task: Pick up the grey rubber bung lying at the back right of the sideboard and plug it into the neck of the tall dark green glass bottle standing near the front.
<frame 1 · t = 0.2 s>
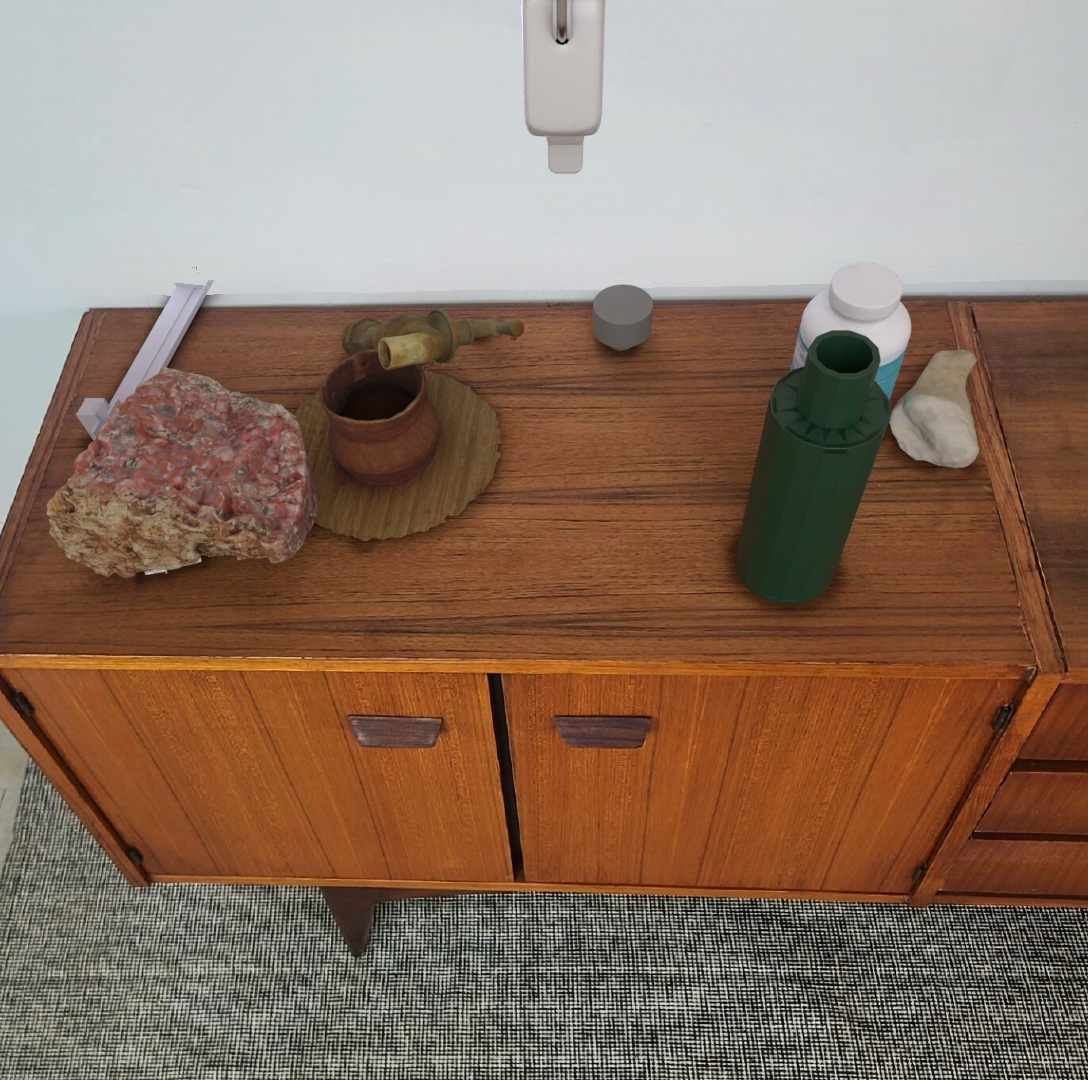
hand: (568, 114, 60), 28 cm above the sideboard, tool pointing down, fingers open, 8 cm apart
bottle: (784, 564, 76), on the sideboard
card: (203, 548, 80), on the sideboard, touching rock
pill bottle: (827, 425, 83), on the sideboard
rock: (241, 407, 81), point 4 cm above the sideboard, touching card, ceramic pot
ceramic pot: (388, 451, 84), on the sideboard, touching faucet, rock
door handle: (130, 345, 90), point 2 cm above the sideboard
faucet: (339, 351, 81), point 7 cm above the sideboard, touching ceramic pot
bung: (621, 341, 89), on the sideboard
beige lumpy piece: (939, 419, 83), on the sideboard
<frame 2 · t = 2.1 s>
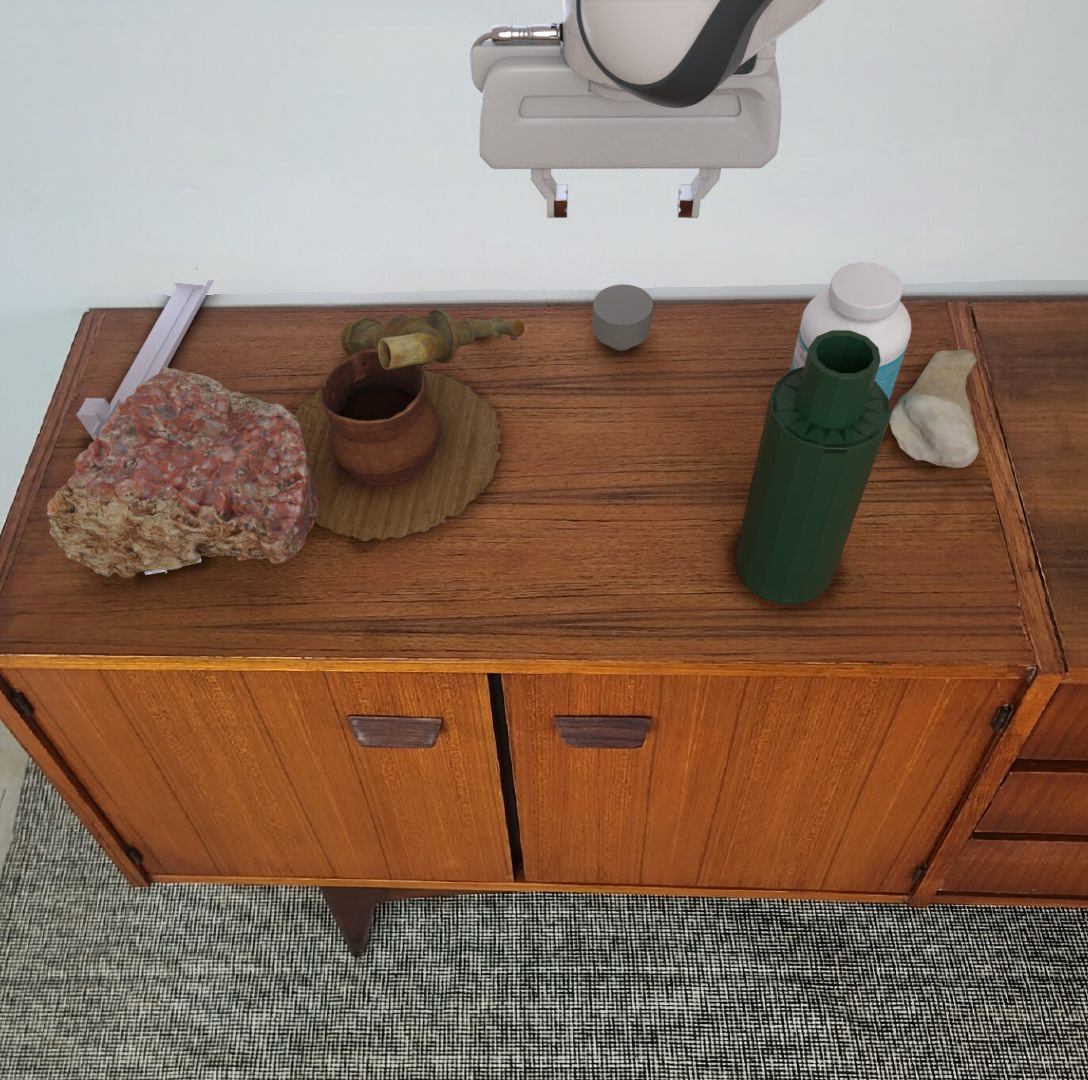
hand: (622, 213, 78), 13 cm above the sideboard, tool pointing down, fingers open, 8 cm apart
nothing on the sideboard moved.
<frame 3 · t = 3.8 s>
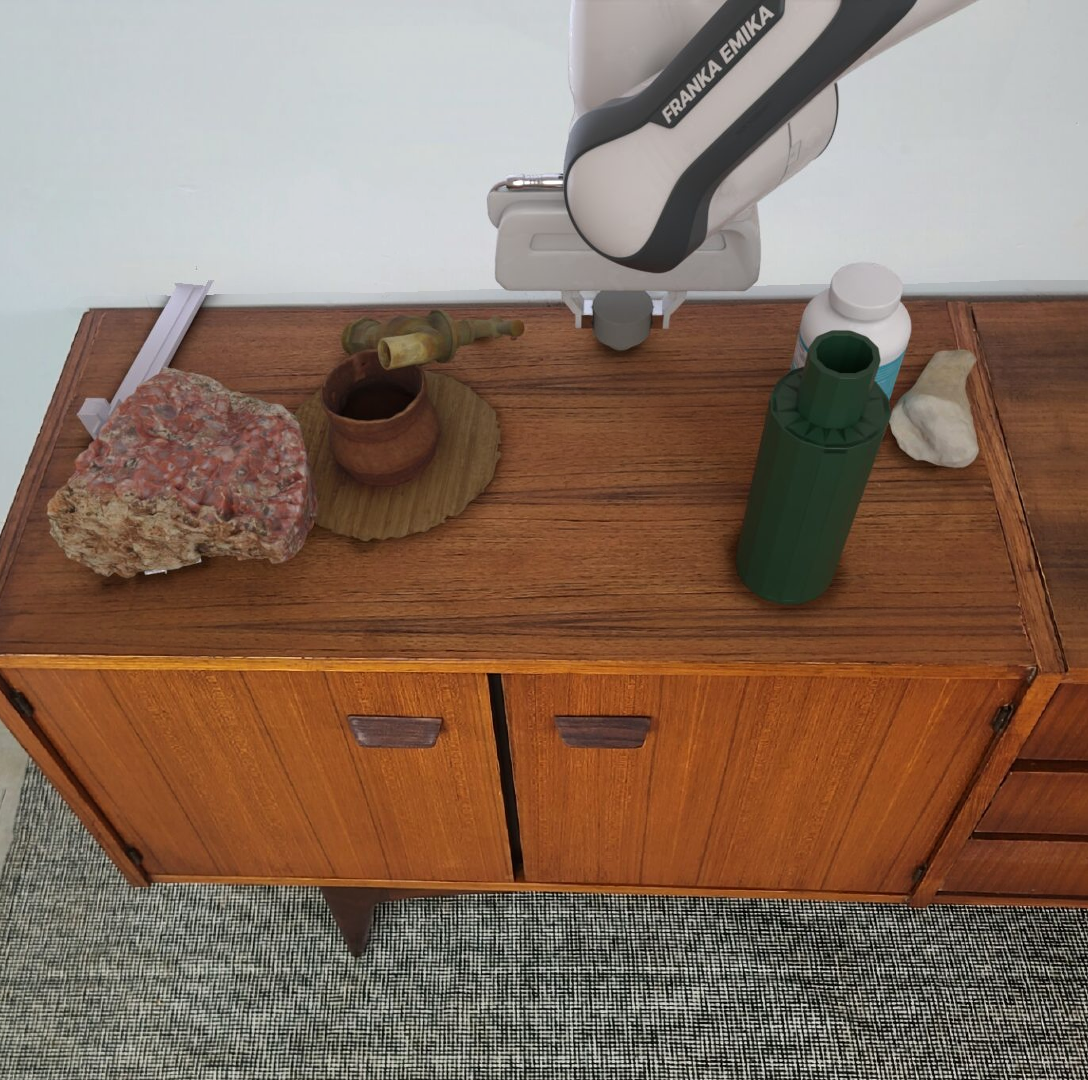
hand: (622, 324, 88), 2 cm above the sideboard, tool pointing down, fingers closed on bung, 5 cm apart
bung: (620, 341, 89), on the sideboard, touching gripper
everything else where it was.
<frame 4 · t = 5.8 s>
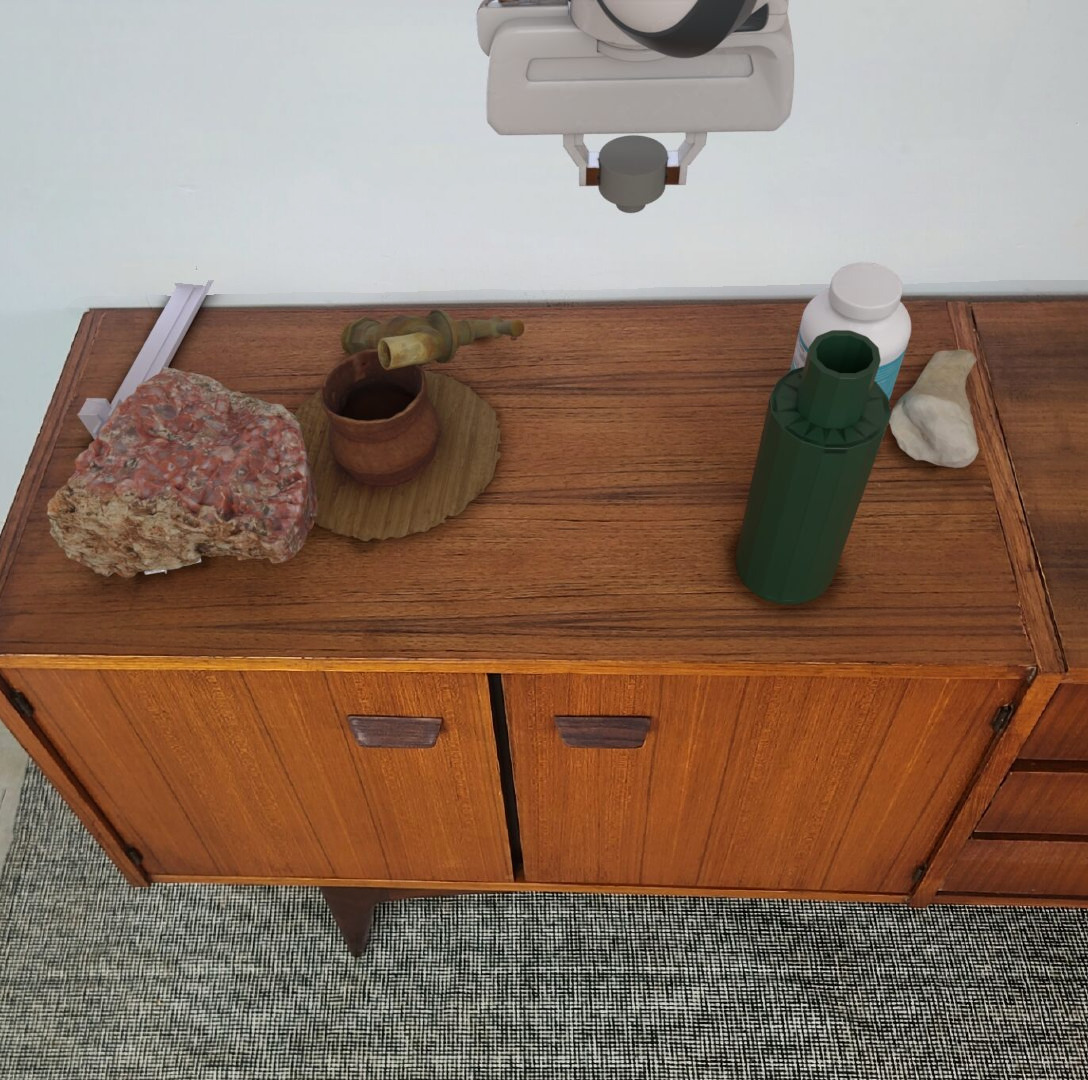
hand: (632, 180, 77), 15 cm above the sideboard, tool pointing down, fingers closed on bung, 5 cm apart
bung: (630, 204, 79), point 13 cm above the sideboard, touching gripper
everything else where it was.
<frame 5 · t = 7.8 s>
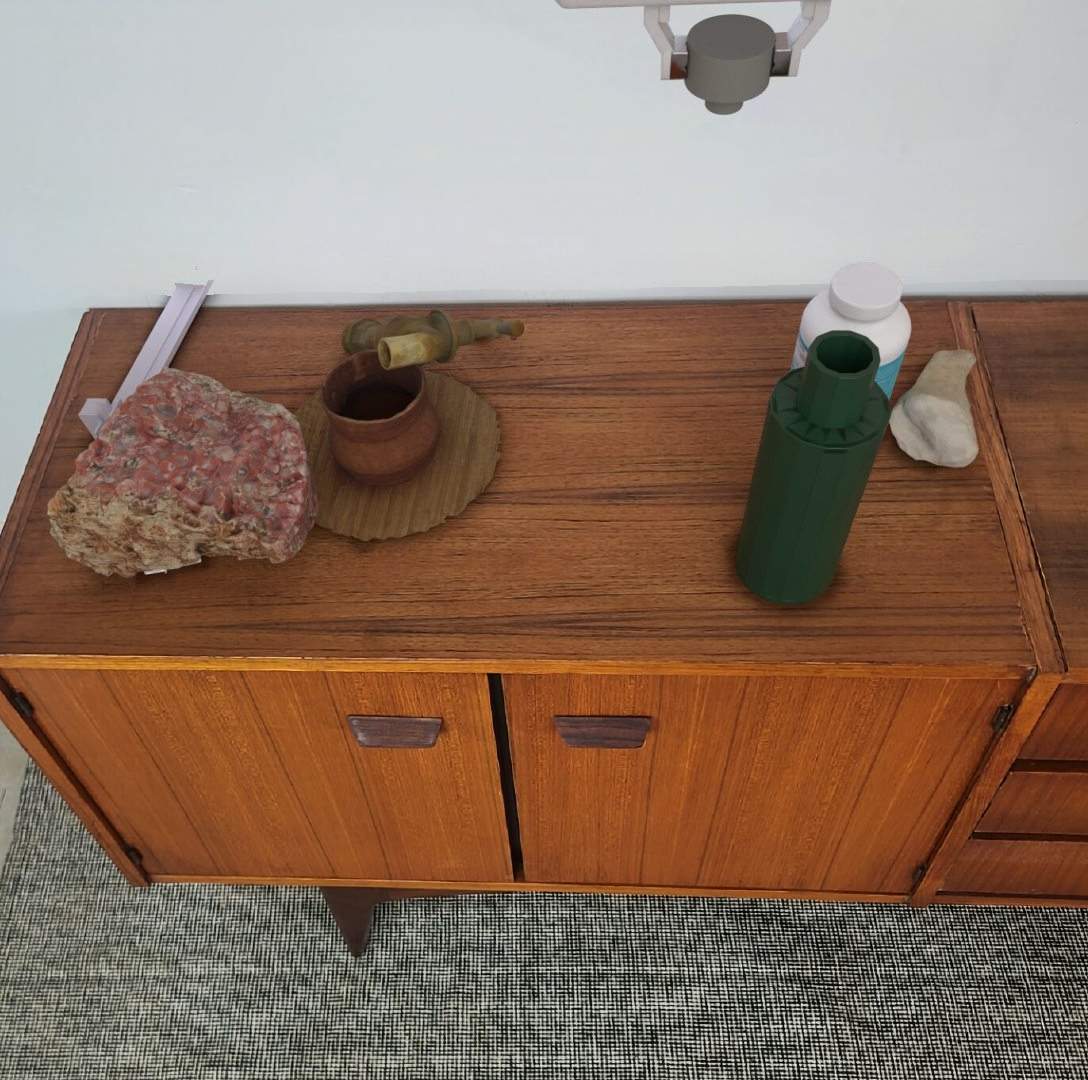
hand: (728, 73, 61), 28 cm above the sideboard, tool pointing down, fingers closed on bung, 5 cm apart
bung: (723, 104, 63), point 26 cm above the sideboard, touching gripper
everything else where it was.
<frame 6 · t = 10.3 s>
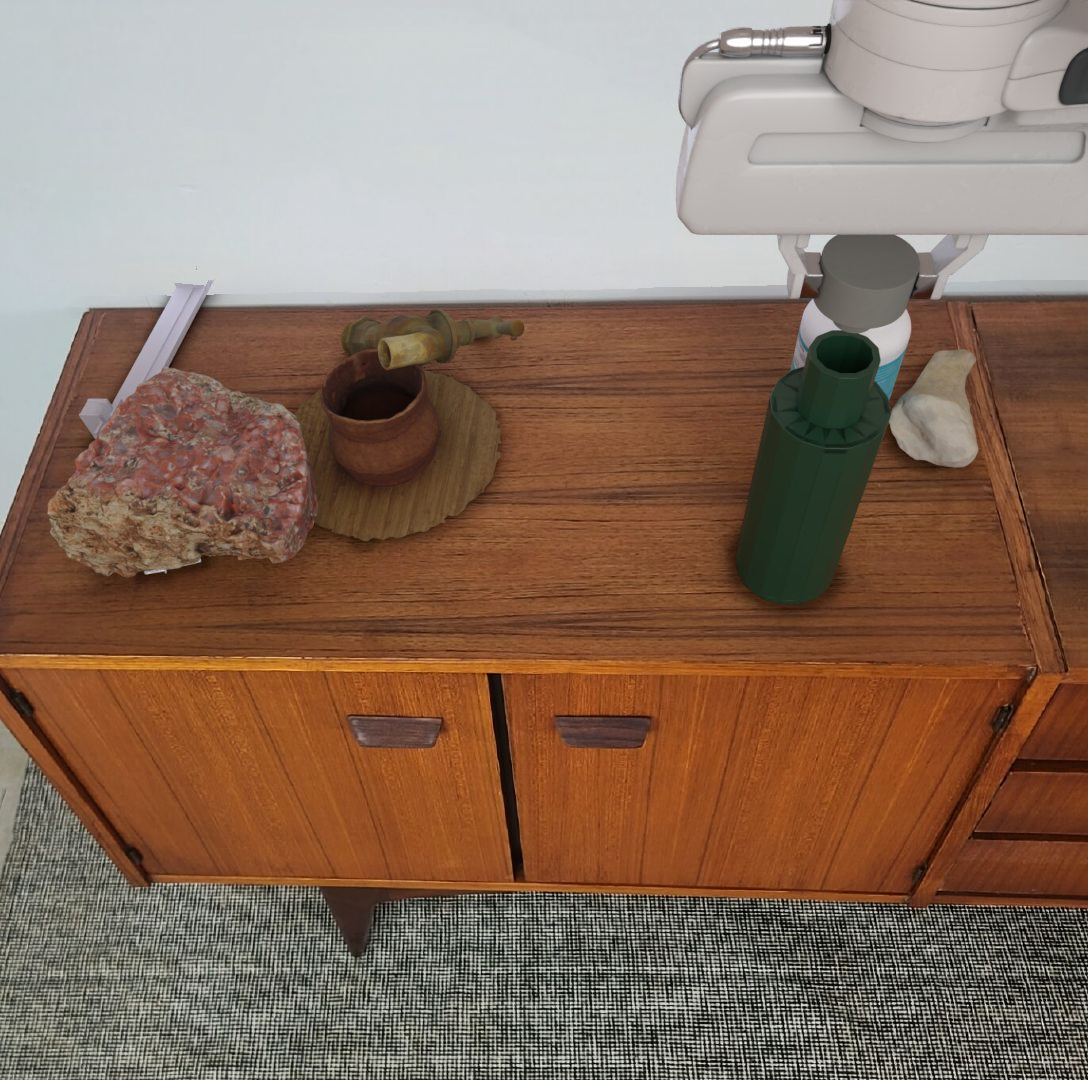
hand: (862, 291, 56), 24 cm above the sideboard, tool pointing down, fingers closed on bung, 5 cm apart
bung: (852, 319, 57), point 22 cm above the sideboard, touching gripper
everything else where it was.
when the fingers open (20 cm above the sideboard, at t = 12.0 s): bung stays where it is, resting on bottle.
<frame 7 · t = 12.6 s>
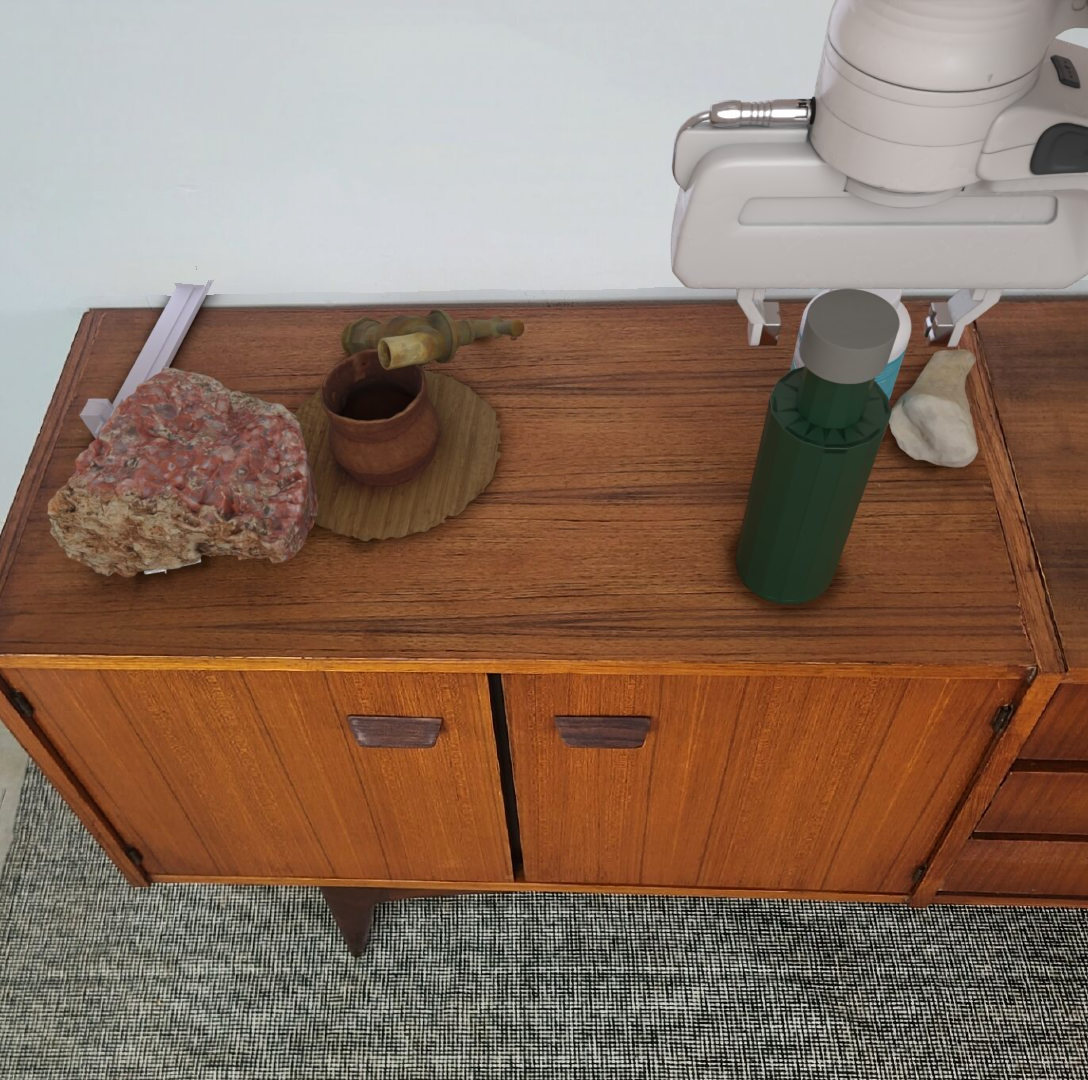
hand: (849, 338, 58), 21 cm above the sideboard, tool pointing down, fingers open, 8 cm apart
bung: (837, 373, 61), point 18 cm above the sideboard, touching bottle
everything else where it was.
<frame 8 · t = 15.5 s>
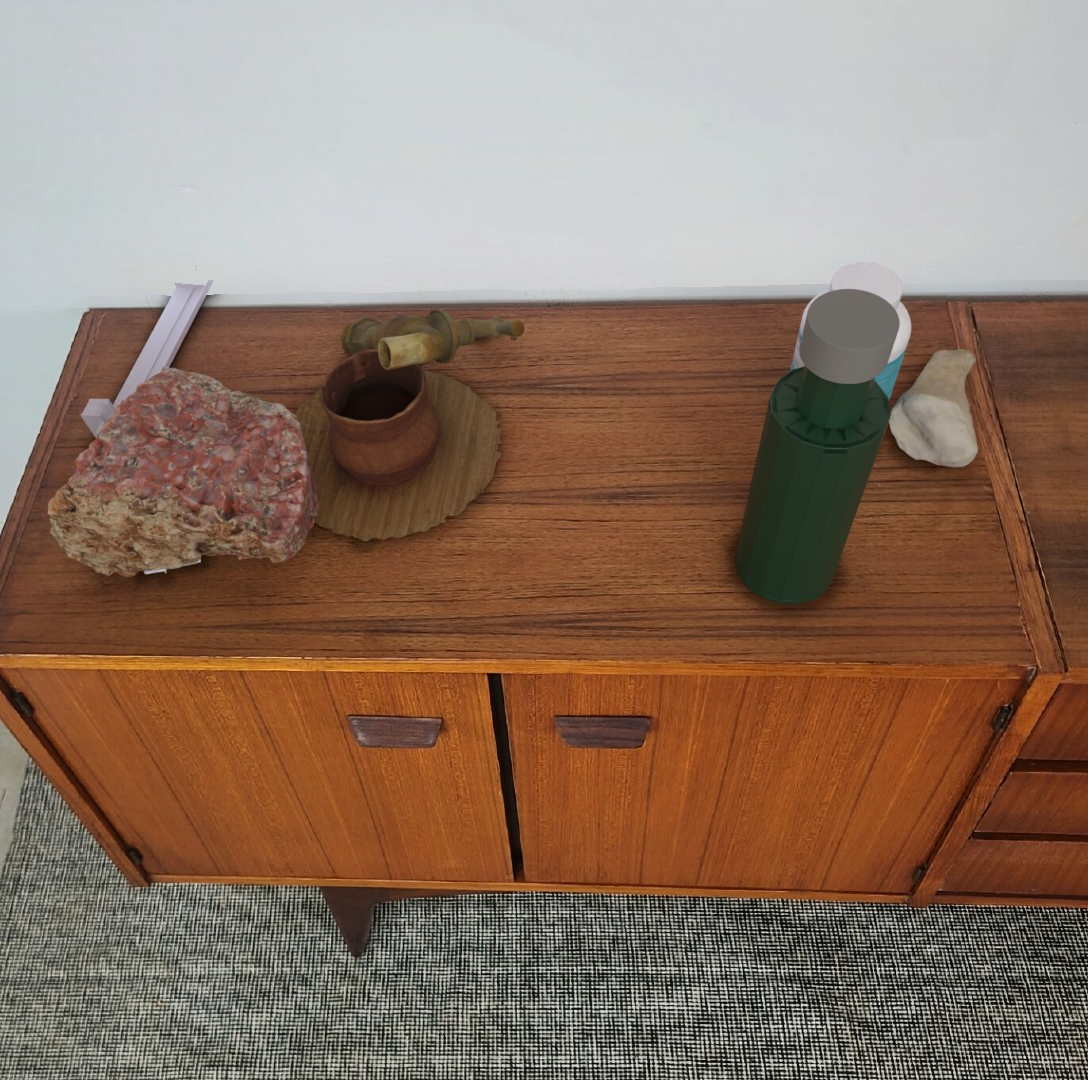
nothing on the sideboard moved.
at the end: bung 0.1 cm off-centre in the bottle, point 18.5 cm above the bottle's base; bung tilted 0°; the gripper is holding nothing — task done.
